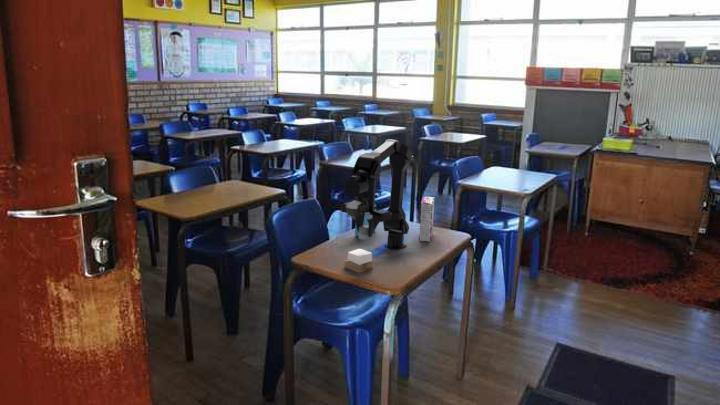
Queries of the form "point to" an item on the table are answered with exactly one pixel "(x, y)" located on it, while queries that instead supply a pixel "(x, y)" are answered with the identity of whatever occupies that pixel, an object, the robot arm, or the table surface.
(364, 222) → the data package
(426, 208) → the candy bar box
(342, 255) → the table surface
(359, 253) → the top block
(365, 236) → the spool
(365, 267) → the bottom block
